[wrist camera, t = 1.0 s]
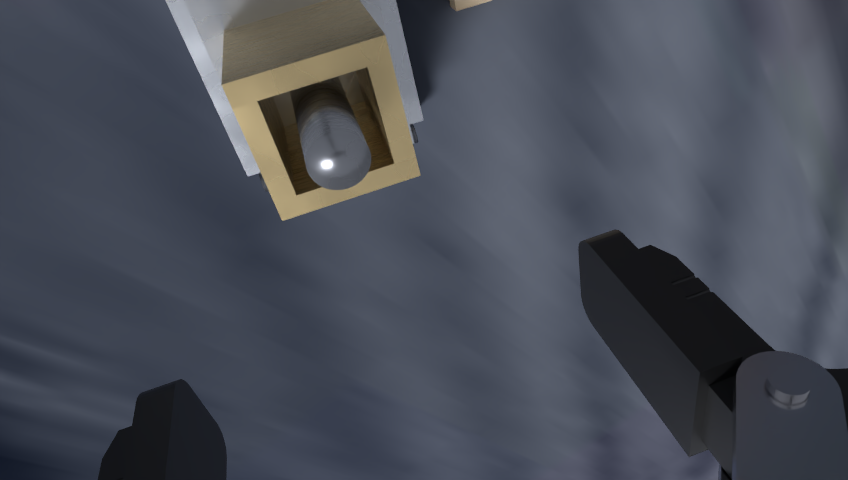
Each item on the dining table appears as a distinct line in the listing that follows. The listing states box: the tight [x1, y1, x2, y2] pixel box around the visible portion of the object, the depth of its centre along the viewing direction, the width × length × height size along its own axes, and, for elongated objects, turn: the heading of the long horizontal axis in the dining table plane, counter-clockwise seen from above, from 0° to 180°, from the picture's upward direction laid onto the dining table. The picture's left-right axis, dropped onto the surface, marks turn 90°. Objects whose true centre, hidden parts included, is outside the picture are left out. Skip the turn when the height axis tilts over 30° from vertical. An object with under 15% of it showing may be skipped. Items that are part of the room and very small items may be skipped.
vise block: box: [166, 0, 423, 192], centre depth 23 cm, size 12×10×14 cm
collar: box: [221, 0, 421, 221], centre depth 22 cm, size 5×5×6 cm
